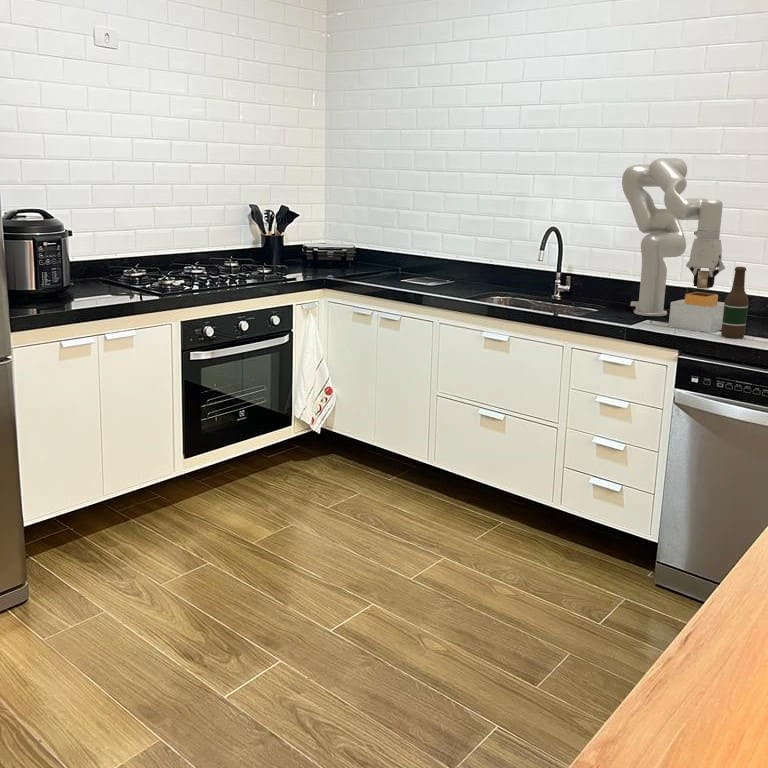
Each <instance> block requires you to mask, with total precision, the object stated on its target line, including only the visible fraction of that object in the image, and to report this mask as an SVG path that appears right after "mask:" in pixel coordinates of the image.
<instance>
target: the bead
mask: <svg viewBox="0 0 768 768" xmlns="http://www.w3.org/2000/svg"><path fill="white" fill-rule="evenodd" d="M709 276H710V274H709V270H700V271H698V279H697V286H696V289H701V290H702V289H704V290H706V289H707V290H708V289H710V288H707V281H708V277H709Z"/></svg>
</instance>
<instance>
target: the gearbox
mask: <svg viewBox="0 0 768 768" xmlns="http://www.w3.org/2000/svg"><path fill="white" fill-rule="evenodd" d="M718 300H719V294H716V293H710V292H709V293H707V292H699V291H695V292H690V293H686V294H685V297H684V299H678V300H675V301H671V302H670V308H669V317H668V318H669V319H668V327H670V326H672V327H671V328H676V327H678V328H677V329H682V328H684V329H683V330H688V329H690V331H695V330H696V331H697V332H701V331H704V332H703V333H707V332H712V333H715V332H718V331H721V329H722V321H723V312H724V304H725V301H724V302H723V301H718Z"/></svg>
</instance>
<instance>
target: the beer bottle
mask: <svg viewBox="0 0 768 768" xmlns="http://www.w3.org/2000/svg"><path fill="white" fill-rule="evenodd" d="M734 271H735V272H734V277H733V280H732V281H733V282H732V287H731V290H730V292H729V293H728V294H727V295H726V297H725V300H724V303H725V304H724V312H723V321H722V329H721V330H720V334H721V337H724V338H726V339H743V338H744V337H745V333H746V326H747V319H748V310H749V298H748V295H747V292H746V290H745V282H746V281H745V280H746V279H745V278H746V271H747V268H746V267H745V266H736V267H735V268H734Z"/></svg>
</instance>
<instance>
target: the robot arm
mask: <svg viewBox="0 0 768 768" xmlns="http://www.w3.org/2000/svg"><path fill="white" fill-rule="evenodd" d="M687 173H688V166H687V164H686V162H685V161H684V160H682V159H681V158H657V159H655V160H654V159H653V161H651V163H650V164H634V165H630V166H629V167H627V168H626V169H625V170H624V171H623V174H622V178H621V185H622V191H623V194H624V196H625V199H627V201H628V203H629V207H630V209H631V211H632V215H633V216H634V217H633V218H634V220H635V222H636V225H637V228H638V229H639V232H641V233H642V234H646V235H645V236H643V238H642V240H641V242H640V253H641V270H640V283H639V284H640V285H639V297H638V300H637V301H636V300H635V301H633V300H632V301H631V302H630V305H629V306H630V307H633V308H634V307H635V309H633V313H634V314H635V315H639V316H643V317H644V316H646V317H664V316H667V315H668V311H667V310H664V307H665V306H664V305H665V295H666V286H667V285H666V283H667V273H668V267H667V264H666V262H665V261H664V258H678V257H681V256H682V255H683V254H685V252H686V248H687V241H686V238H685V237H686V236H685V234H684V231H683V228H682V225H681V223H680V221H698V222H697V230H696V231H693V235H694V236H696V238H694V239H693V241H692V245H691V250H690V255H689V261H688V262H686V264H685V266H686V267H687V268H688V269H689V270H690V272H691V273H692V275H693V287H695V288H697V279H698V271H702V270H701V269H703V268H704V269H708V271H709V274H710V276H709V277H708V281H707V288H709V289H711V288H713V287H714V285H715V280H716V279H715V277H716V276H717V275H718V274H720V273H721V272H722V271H724V270H725V269H726V266H725V265H724V263H723V261H722V257H723V254H722V253H723V250H722V249H723V247H722V240H721V239H720V235H721V228H722V227H721V225H722V217H723V216H722V214H723V201H722V200H718V199H707V198H683V197H682V196H681V194H683V192H684V191H685V190H686V188H687V183H688V182H687V179H686V178H685V177H686V176H687ZM645 187H646V188H648V187H653V188H654V187H655V188H656V187H657V188H658V187H659V188H660V189H661V191H663V192H664V196H663V201H664V206H665V208H658V207H656V205H655V202H654V200H653V197H652V196H651V195H650V193H649V192H647V190H645V189H644V188H645Z"/></svg>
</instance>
